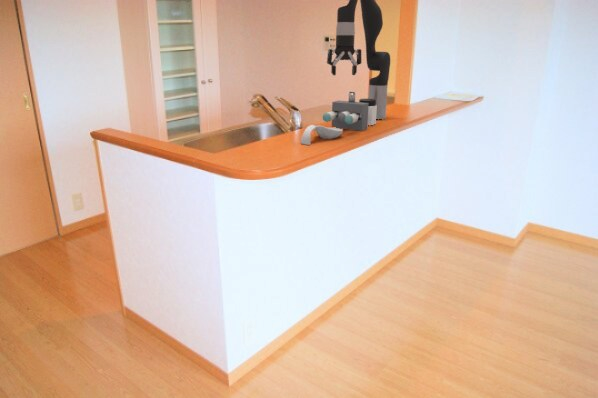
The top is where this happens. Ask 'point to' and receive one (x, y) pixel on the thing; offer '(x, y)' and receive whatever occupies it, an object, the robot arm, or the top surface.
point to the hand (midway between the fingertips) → (343, 75)
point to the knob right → (352, 118)
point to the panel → (352, 108)
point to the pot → (351, 97)
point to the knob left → (329, 116)
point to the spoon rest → (320, 133)
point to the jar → (371, 110)
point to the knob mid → (343, 116)
